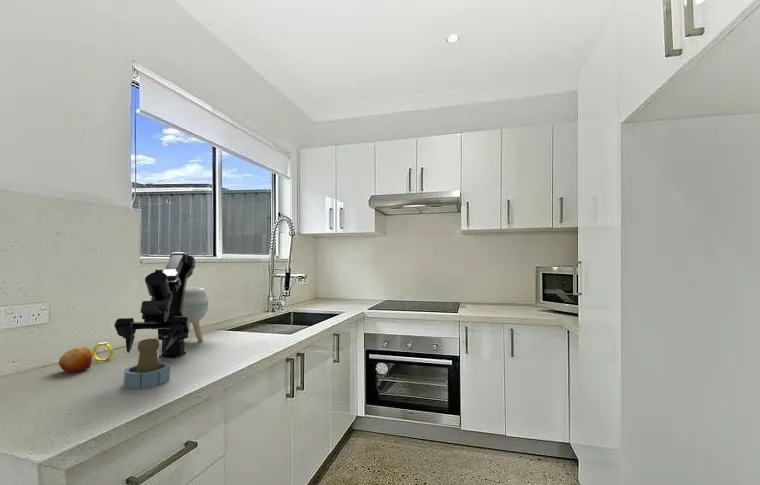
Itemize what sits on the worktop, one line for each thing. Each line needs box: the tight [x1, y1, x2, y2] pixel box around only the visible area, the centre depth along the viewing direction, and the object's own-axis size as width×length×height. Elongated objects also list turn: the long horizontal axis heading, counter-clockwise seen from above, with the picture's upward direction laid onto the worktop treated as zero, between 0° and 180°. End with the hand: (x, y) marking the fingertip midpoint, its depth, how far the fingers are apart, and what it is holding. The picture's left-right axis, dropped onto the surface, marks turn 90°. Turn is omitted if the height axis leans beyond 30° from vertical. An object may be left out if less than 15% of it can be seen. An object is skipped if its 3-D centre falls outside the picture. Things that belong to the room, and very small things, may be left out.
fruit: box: [58, 346, 93, 373], centre depth 113 cm, size 8×8×8 cm
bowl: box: [122, 362, 171, 390], centre depth 103 cm, size 11×11×4 cm
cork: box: [136, 338, 160, 373], centre depth 103 cm, size 6×6×11 cm
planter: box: [182, 287, 209, 343], centre depth 151 cm, size 16×16×22 cm
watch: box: [91, 341, 114, 361], centre depth 124 cm, size 6×3×6 cm, turn 95°
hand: (146, 351), depth 102 cm, fingers open, 9 cm apart
